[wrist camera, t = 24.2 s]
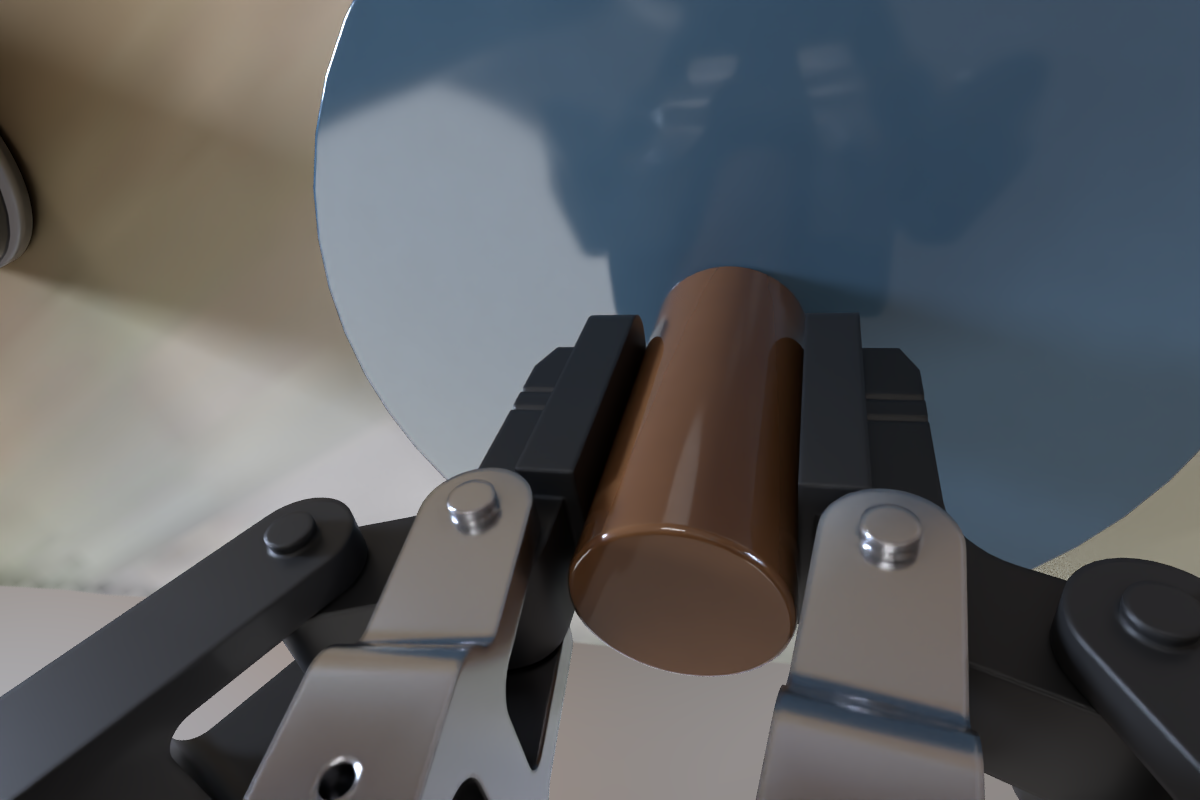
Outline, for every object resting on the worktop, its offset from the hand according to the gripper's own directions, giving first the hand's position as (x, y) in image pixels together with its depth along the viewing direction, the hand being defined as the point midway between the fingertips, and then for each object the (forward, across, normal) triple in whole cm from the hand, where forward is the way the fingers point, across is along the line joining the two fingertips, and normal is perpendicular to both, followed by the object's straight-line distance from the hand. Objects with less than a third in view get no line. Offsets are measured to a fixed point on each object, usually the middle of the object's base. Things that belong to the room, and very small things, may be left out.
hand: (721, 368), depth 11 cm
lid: (+2, 0, 0) cm, 2 cm away
